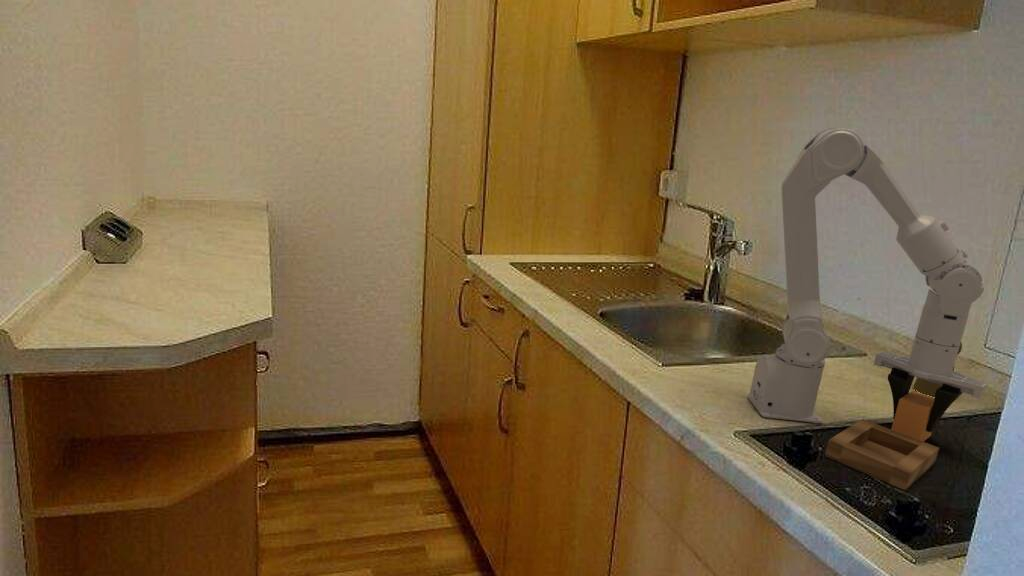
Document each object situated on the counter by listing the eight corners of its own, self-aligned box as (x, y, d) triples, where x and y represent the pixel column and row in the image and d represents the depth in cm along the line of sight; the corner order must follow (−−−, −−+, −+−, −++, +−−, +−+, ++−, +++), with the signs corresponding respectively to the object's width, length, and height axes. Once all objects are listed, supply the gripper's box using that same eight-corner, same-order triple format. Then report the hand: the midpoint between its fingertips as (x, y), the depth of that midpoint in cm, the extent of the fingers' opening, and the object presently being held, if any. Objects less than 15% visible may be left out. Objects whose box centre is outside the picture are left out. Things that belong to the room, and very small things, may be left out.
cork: (916, 382, 131) (931, 327, 128) (952, 393, 128) (969, 337, 125) (909, 390, 127) (925, 333, 124) (947, 402, 123) (964, 343, 120)
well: (905, 490, 90) (910, 473, 89) (824, 456, 97) (828, 439, 97) (934, 463, 99) (939, 447, 98) (858, 433, 106) (862, 418, 105)
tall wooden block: (918, 446, 103) (928, 409, 102) (889, 435, 106) (899, 398, 104) (930, 435, 107) (941, 400, 106) (902, 425, 110) (912, 390, 108)
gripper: (876, 329, 105) (854, 411, 108) (987, 361, 95) (959, 451, 98) (892, 322, 110) (871, 401, 113) (999, 352, 100) (972, 438, 103)
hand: (913, 424), depth 106 cm, fingers closed on tall wooden block, 4 cm apart
